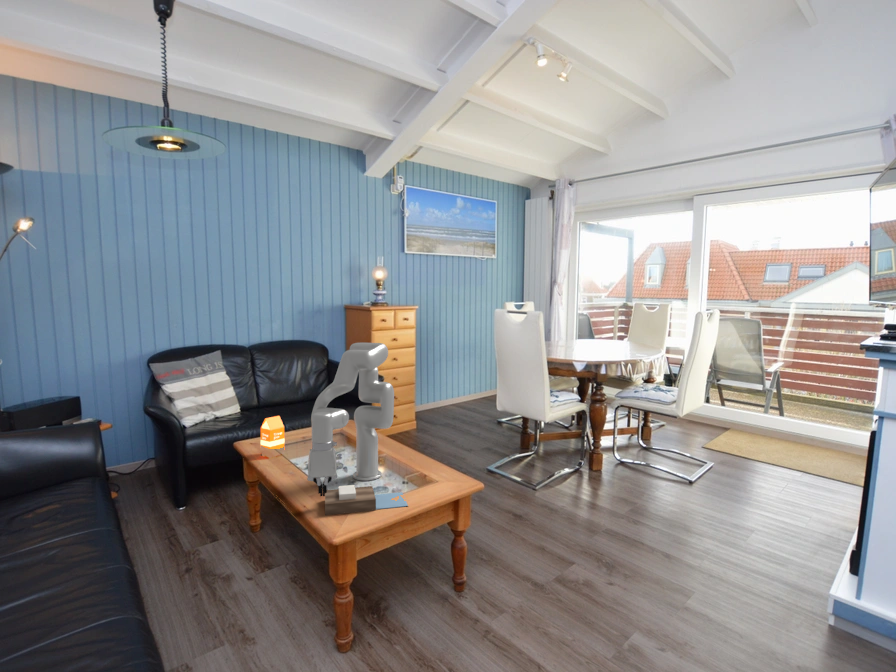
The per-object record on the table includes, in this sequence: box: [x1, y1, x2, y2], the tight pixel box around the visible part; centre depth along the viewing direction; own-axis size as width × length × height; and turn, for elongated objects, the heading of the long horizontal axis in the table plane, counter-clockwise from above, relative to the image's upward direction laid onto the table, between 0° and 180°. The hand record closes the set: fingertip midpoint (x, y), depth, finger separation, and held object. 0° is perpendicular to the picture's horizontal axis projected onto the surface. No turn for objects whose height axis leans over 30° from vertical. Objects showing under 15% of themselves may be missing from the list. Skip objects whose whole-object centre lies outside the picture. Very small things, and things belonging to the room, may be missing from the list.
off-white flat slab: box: [338, 484, 356, 500], centre depth 171 cm, size 9×6×2 cm, turn 15°
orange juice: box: [260, 415, 286, 449], centre depth 235 cm, size 8×9×20 cm
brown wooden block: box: [324, 485, 376, 516], centre depth 171 cm, size 14×18×4 cm
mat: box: [375, 491, 409, 511], centre depth 176 cm, size 14×12×1 cm
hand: (322, 494), depth 169 cm, fingers closed
